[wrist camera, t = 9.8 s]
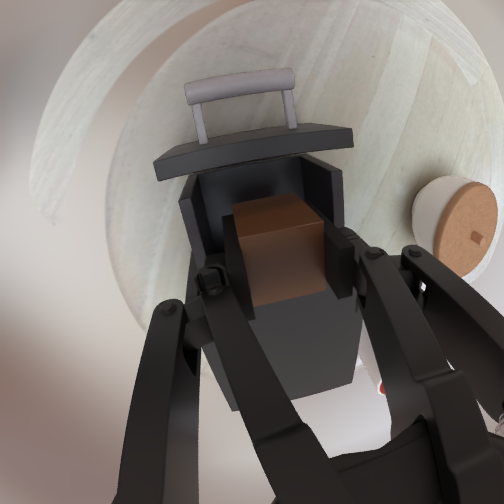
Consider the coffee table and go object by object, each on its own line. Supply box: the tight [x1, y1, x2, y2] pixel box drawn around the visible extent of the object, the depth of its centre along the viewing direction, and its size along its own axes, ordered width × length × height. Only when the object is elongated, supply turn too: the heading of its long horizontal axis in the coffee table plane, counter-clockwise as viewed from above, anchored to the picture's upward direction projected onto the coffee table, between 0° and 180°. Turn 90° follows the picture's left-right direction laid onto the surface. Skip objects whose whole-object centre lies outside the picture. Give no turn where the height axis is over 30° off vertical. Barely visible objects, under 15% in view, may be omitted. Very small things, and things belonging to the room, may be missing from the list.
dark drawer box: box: [185, 251, 363, 411], centre depth 25 cm, size 15×13×10 cm
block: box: [232, 193, 326, 307], centre depth 15 cm, size 4×4×5 cm
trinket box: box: [411, 176, 498, 278], centre depth 23 cm, size 11×11×9 cm
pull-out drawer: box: [153, 68, 354, 270], centre depth 20 cm, size 18×12×8 cm, turn 9°
